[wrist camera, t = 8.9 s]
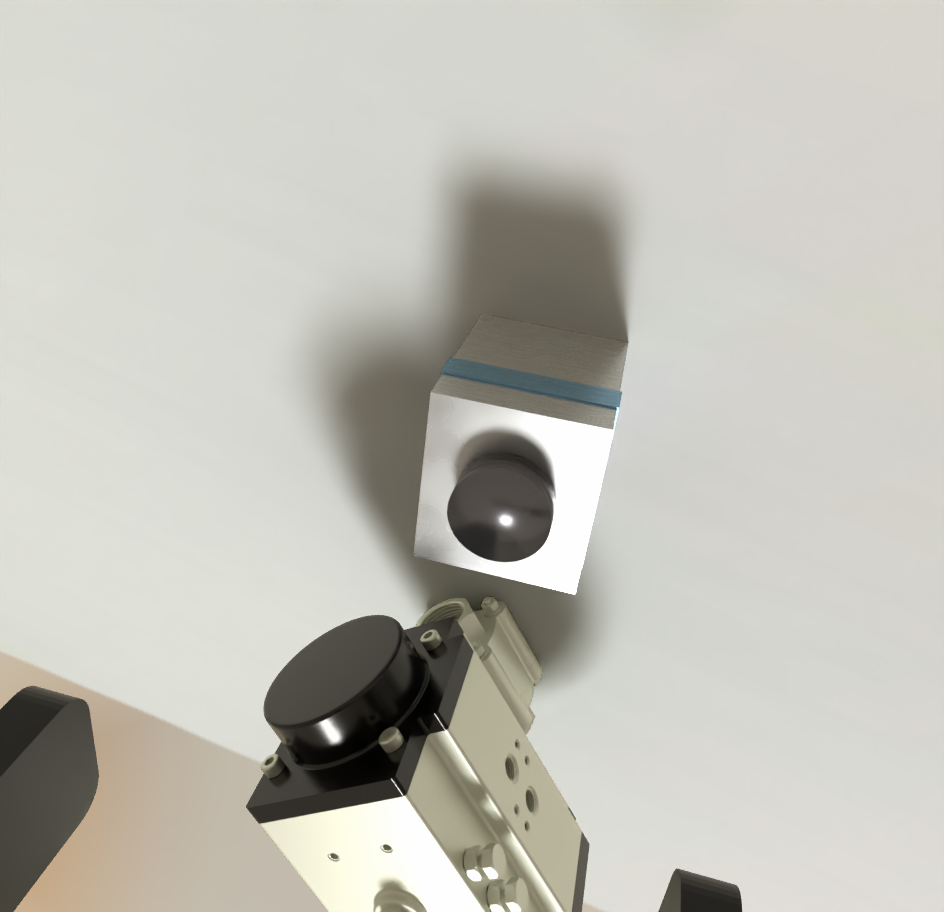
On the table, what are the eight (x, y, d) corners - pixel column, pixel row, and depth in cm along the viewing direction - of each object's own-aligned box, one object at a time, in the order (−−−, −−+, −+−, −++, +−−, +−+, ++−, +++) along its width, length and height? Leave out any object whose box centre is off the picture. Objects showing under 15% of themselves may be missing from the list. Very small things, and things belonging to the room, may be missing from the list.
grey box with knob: (630, 340, 25) (612, 448, 19) (597, 485, 28) (572, 620, 22) (480, 311, 26) (417, 406, 20) (461, 455, 28) (400, 578, 22)
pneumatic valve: (499, 762, 35) (419, 1085, 24) (357, 535, 31) (191, 805, 20) (625, 737, 32) (597, 1080, 22) (489, 490, 29) (379, 765, 18)
